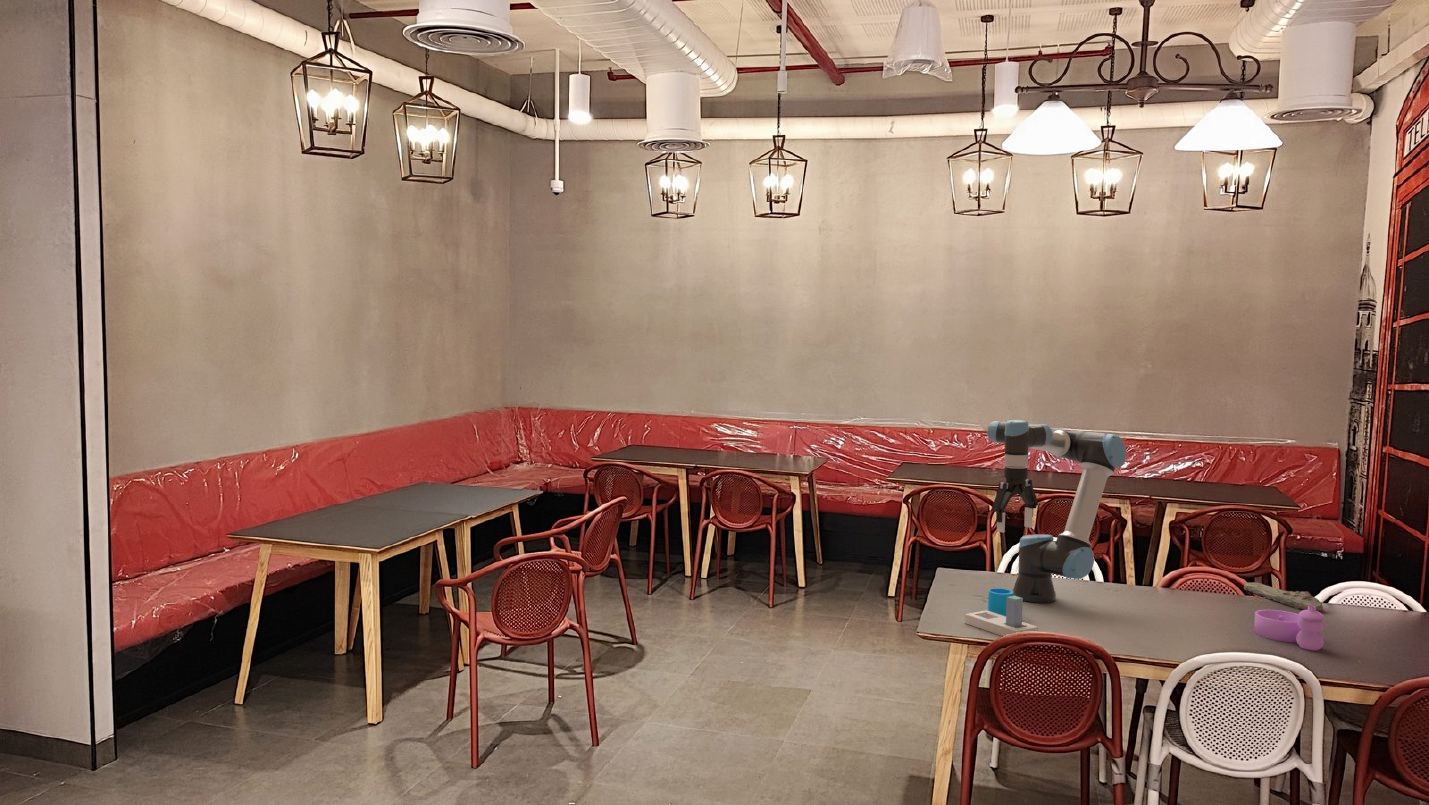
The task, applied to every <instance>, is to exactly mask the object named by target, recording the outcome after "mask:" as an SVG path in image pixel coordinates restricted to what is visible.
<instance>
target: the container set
mask: <svg viewBox="0 0 1429 805" xmlns="http://www.w3.org/2000/svg"><path fill="white" fill-rule="evenodd" d="M1324 619H1325V616H1324V614H1323V613H1321V612H1320V611H1316V607H1315V606H1308V610H1304V609H1302V610H1301V611H1300V612H1299V613H1295V612H1291V611H1285V610H1279V609H1259V610H1258V609H1257V610H1256V611H1255V612H1254V624H1253V627H1254V628H1253V633H1254V634H1255V635H1257V636H1258V637H1262V638H1265V639H1268V640H1273V641H1279V642H1285V643H1286V642H1288V643H1297V645H1299V647H1300V648H1302V649H1303V650H1307V651H1319V650H1320V649H1321V648H1323V647H1324V644H1325V638H1324V637H1323V635H1322V634H1321V632H1323V630H1324V629H1325V627H1326V626H1325V622H1323V620H1324Z"/></svg>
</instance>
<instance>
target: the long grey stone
mask: <svg viewBox="0 0 1429 805" xmlns="http://www.w3.org/2000/svg"><path fill="white" fill-rule="evenodd" d="M1243 589H1244V590H1245V591H1247V592H1249V593H1253V594H1254V595H1257V596H1259V597H1263V598H1265V599H1268V600H1270V599H1276V600H1272V601H1275V602H1278V603H1281V604H1282V605H1285V606H1290V607H1292V608H1295V609H1297V610H1300V609H1301V610H1308V606H1315V607H1316V611H1318V612H1320V611H1322V610H1324V606H1323V602H1322V601H1320V600H1319V599H1318V598H1317V597H1314V596H1313V595H1312V594H1311V592H1309V591H1299V590H1296V591H1292V590H1290V591H1289V590H1283V589H1280V588H1277V587H1272V586H1270V585H1265V584H1263V583H1260V582H1255V581H1254V582H1246V583H1245V584H1244V585H1243Z"/></svg>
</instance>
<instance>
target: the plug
mask: <svg viewBox="0 0 1429 805" xmlns="http://www.w3.org/2000/svg"><path fill="white" fill-rule="evenodd" d="M1023 602H1024V601H1023V598H1021V597H1017V596H1010V597H1007V605H1006V625H1008V626H1011V627H1014V628H1015V627H1020V626H1022V622H1023V606H1024V605H1023V604H1024V603H1023Z"/></svg>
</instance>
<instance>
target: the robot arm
mask: <svg viewBox="0 0 1429 805" xmlns="http://www.w3.org/2000/svg"><path fill="white" fill-rule="evenodd" d="M987 426H988V427H987V429H986V430H987V431H986V435H987V438H988V440H989V441H991V442H994V443H997V444H1004V466H1005V467H1004V469H1003V477H1004V478H1005V479H1006V480H1005V482H1002V481H1000V482H999V483H998V488H997V492H996V495H995V498H994V500H993V504H992V506H991V511H993V512H995V514H996V517H995V521H996V532H999V533H1002V534H1003V533H1005V532H1006V530H1005V528H1006V525H1005V524H1006V513H1005V512H1004V511H1005V509H1006V508H1007V506H1008V504H1009V503H1010V500H1011V499H1012V498H1013V497H1014V496H1017V495H1019V496H1020V498H1021V499H1022V501H1023V503H1024V504H1025V506H1026V507H1024V523H1023V524H1024V527H1025V528H1029V529H1031V528H1033V518H1034V509H1037V506H1039V502H1038V498H1037V495H1036V492H1035V489H1034V487H1033V480H1032V479H1028V476H1029V475H1028V473H1029V472H1028V471H1029V468H1027V467H1029V449H1033V450H1036V451H1037V450H1038V451H1043V452H1048V453H1050V454H1051V455H1053V456H1055V457H1059V458H1063V459H1066V460H1069V461H1073V462H1076V463H1080V465H1079V466H1080V468H1081V469H1082V472H1081V475H1080V479H1079V483H1078V486H1077V489H1076V491H1075V495H1074V498H1073V502H1072V505H1071V508H1070V512H1069V515H1068V517H1067V521H1066V523H1065V527H1064V531H1063V532H1061V533H1059V534H1058V535H1057V538H1056V541H1055V540H1054V535H1051V534H1043V533H1042V534H1027V535H1023V536H1022V537H1020V539H1019V544H1018V574H1017V578H1016V581H1015V583H1014V586H1013V589H1012V591H1013V596H1017V597H1021V598H1023V602H1030V603H1043V604H1044V603H1052V602H1055V601H1056V600H1057V593H1056V591H1055V586H1054V583H1053V579H1052V578H1053V577H1052V576H1053V575H1056V576H1061V577H1065V578H1066V579H1075V580H1081V579H1084V578H1085V577H1087V576H1088V575H1089V574H1090V572H1091V571H1092V569H1093V566H1094V565H1095V564H1094V563H1095V553H1094V551H1093V550H1092V549H1091V548H1092V544H1091V542H1090V539H1089V538H1090V535H1091V532H1092V529H1093V526H1094V522H1095V519H1096V516H1097V512H1098V509H1099V506H1100V503H1101V500H1102V497H1103V493H1104V490H1105V486H1106V484H1107V480H1108V478H1109V477H1110V476H1112V475H1114V473H1115V469H1118V468H1121V467H1122V466H1123V465H1124V463H1125V462H1126V459H1127V458H1126V457H1127V448H1126V445H1125V441H1124V440H1123V439H1122V438H1121V436H1119V435H1117V434H1112V433H1108V432H1105V433H1103V432H1094V431H1084V430H1073V431H1072V430H1061V429H1058V430H1054V431H1053V430H1052V428H1051V427H1050V426H1049V425H1047V424H1045V423H1037V424H1035V423H1034V424H1032V423H1029V422H1028V420H1027V421H1026V420H1021V419H1014V420H1013V419H1009V420H1007V421H1001V420H994V421H992V422H990V423H989V424H988V425H987Z"/></svg>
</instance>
